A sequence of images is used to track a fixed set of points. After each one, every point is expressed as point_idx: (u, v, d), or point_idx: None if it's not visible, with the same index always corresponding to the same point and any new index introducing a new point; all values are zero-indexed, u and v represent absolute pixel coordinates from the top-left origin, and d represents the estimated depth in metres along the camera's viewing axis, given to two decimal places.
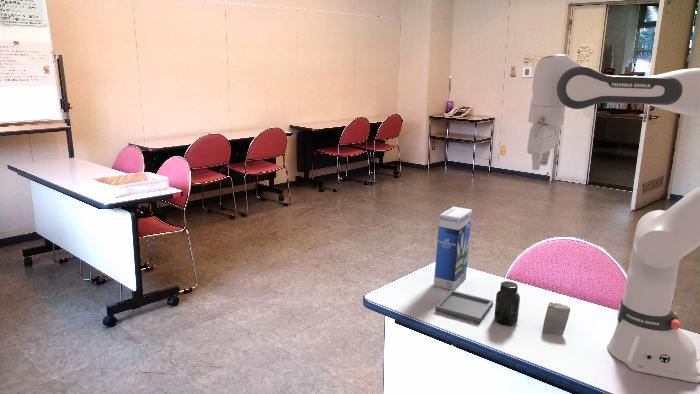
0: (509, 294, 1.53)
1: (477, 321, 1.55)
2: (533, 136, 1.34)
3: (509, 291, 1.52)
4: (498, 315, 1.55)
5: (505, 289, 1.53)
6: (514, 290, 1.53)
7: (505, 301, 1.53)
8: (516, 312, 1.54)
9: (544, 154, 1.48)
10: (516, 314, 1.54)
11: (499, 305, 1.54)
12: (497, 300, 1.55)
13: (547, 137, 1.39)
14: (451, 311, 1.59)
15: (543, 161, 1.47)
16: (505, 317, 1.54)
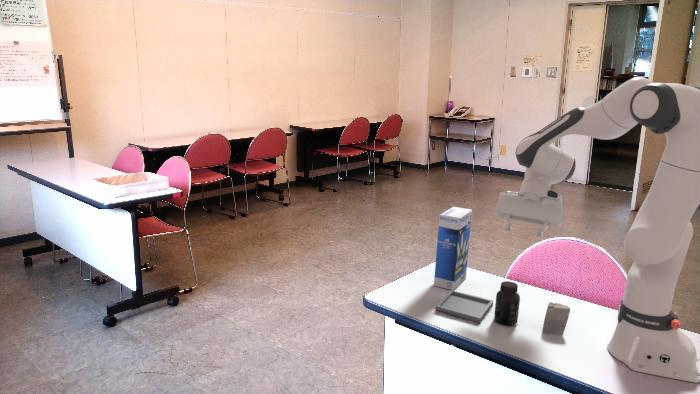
0: (509, 294, 1.53)
1: (477, 321, 1.55)
2: None
3: (509, 291, 1.52)
4: (498, 315, 1.55)
5: (505, 289, 1.53)
6: (514, 290, 1.53)
7: (505, 301, 1.53)
8: (516, 312, 1.54)
9: None
10: (516, 314, 1.54)
11: (499, 305, 1.54)
12: (497, 300, 1.55)
13: (521, 205, 1.65)
14: (451, 311, 1.59)
15: (537, 232, 1.61)
16: (505, 317, 1.54)
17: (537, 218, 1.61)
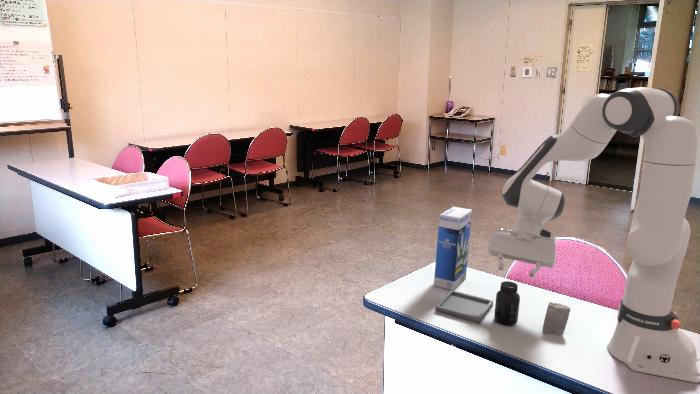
0: (509, 294, 1.53)
1: (477, 321, 1.55)
2: None
3: (509, 291, 1.52)
4: (498, 315, 1.55)
5: (505, 289, 1.53)
6: (514, 290, 1.53)
7: (505, 301, 1.53)
8: (516, 312, 1.54)
9: None
10: (516, 314, 1.54)
11: (499, 305, 1.54)
12: (497, 300, 1.55)
13: (514, 244, 1.64)
14: (451, 311, 1.59)
15: (530, 272, 1.59)
16: (505, 317, 1.54)
17: (530, 258, 1.59)
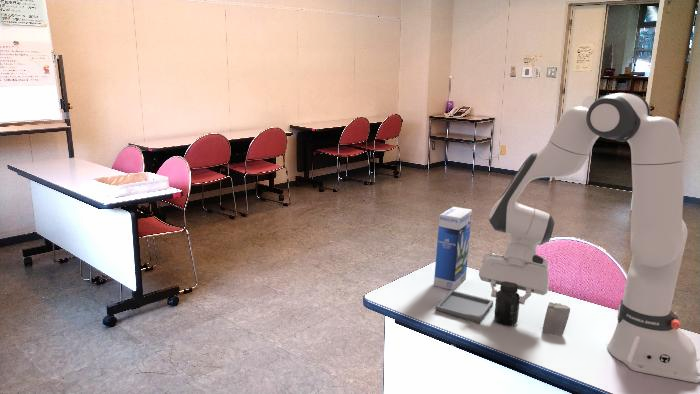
0: (509, 294, 1.53)
1: (477, 321, 1.55)
2: None
3: (509, 291, 1.52)
4: (498, 315, 1.55)
5: (505, 289, 1.53)
6: (514, 290, 1.53)
7: (505, 301, 1.53)
8: (516, 312, 1.54)
9: None
10: (516, 314, 1.54)
11: (499, 305, 1.54)
12: (497, 300, 1.55)
13: (505, 270, 1.59)
14: (451, 311, 1.59)
15: (519, 299, 1.54)
16: (505, 317, 1.54)
17: (521, 285, 1.54)
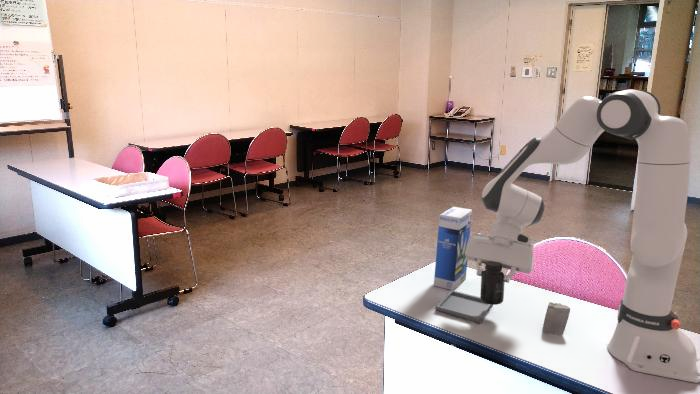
0: (494, 273, 1.54)
1: (477, 321, 1.55)
2: None
3: (493, 270, 1.54)
4: (484, 294, 1.56)
5: (489, 268, 1.54)
6: (498, 269, 1.54)
7: (490, 280, 1.54)
8: (501, 290, 1.55)
9: None
10: (501, 292, 1.55)
11: (485, 284, 1.56)
12: (482, 279, 1.56)
13: (491, 249, 1.60)
14: (451, 311, 1.59)
15: None
16: (491, 296, 1.55)
17: (506, 264, 1.56)
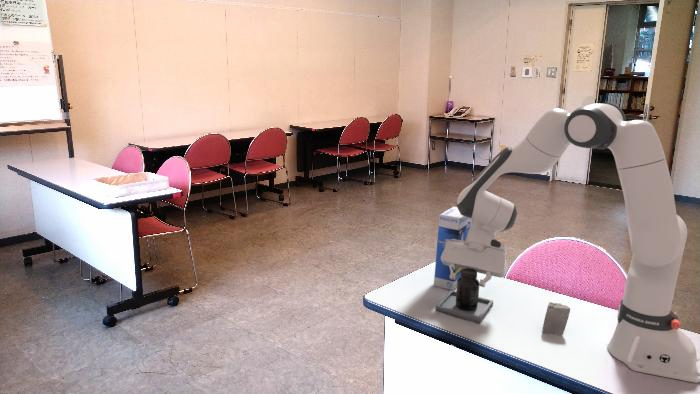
0: (469, 280, 1.59)
1: (477, 321, 1.55)
2: None
3: (468, 277, 1.59)
4: (459, 300, 1.62)
5: (465, 275, 1.60)
6: (473, 276, 1.59)
7: (465, 287, 1.59)
8: (475, 297, 1.60)
9: None
10: (476, 299, 1.61)
11: (460, 291, 1.61)
12: (458, 286, 1.61)
13: (465, 254, 1.65)
14: (451, 311, 1.59)
15: None
16: (465, 302, 1.60)
17: (480, 268, 1.61)
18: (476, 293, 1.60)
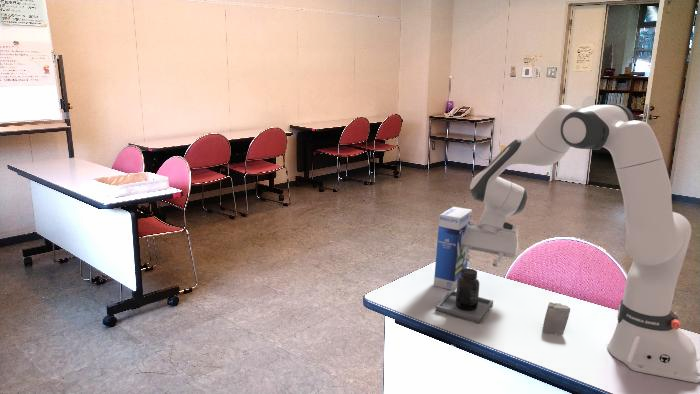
0: (469, 280, 1.59)
1: (477, 321, 1.55)
2: None
3: (468, 277, 1.59)
4: (459, 300, 1.62)
5: (465, 275, 1.60)
6: (473, 276, 1.59)
7: (465, 287, 1.59)
8: (475, 297, 1.60)
9: None
10: (476, 299, 1.61)
11: (460, 291, 1.61)
12: (458, 286, 1.61)
13: (479, 236, 1.75)
14: (451, 311, 1.59)
15: None
16: (465, 302, 1.60)
17: (493, 249, 1.70)
18: (476, 293, 1.60)
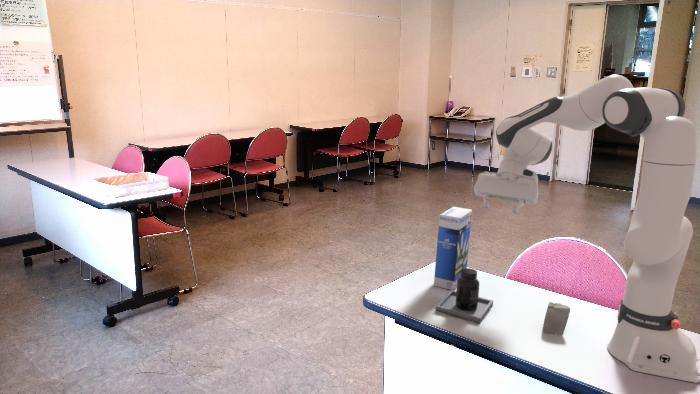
0: (469, 280, 1.59)
1: (477, 321, 1.55)
2: None
3: (468, 277, 1.59)
4: (459, 300, 1.62)
5: (465, 275, 1.60)
6: (473, 276, 1.59)
7: (465, 287, 1.59)
8: (475, 297, 1.60)
9: None
10: (476, 299, 1.61)
11: (460, 291, 1.61)
12: (458, 286, 1.61)
13: (498, 184, 1.72)
14: (451, 311, 1.59)
15: None
16: (465, 302, 1.60)
17: (513, 196, 1.67)
18: (476, 293, 1.60)
